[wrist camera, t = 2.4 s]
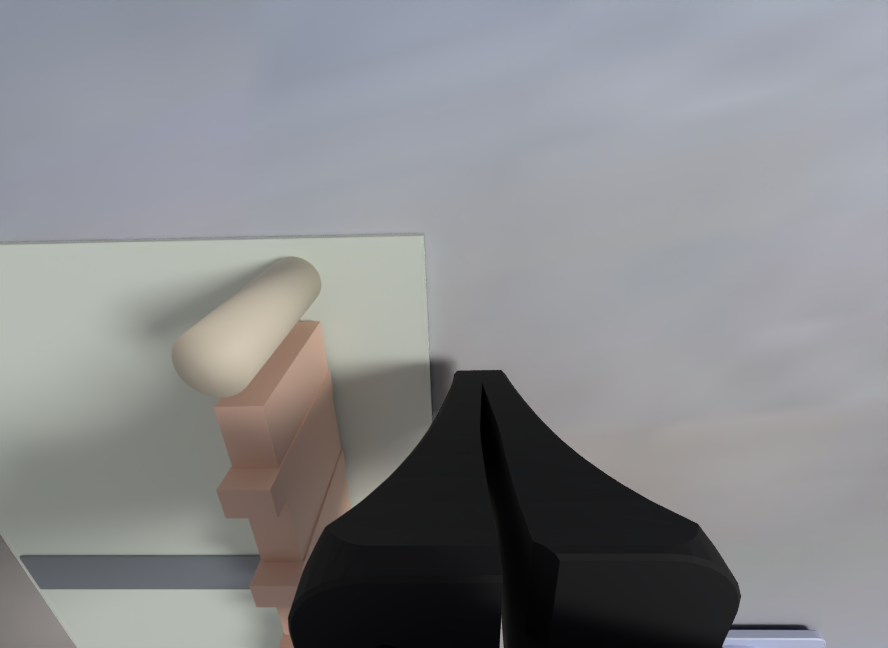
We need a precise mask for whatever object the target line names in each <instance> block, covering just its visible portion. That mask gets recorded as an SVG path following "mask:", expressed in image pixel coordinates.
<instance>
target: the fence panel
mask: <svg viewBox="0 0 888 648" xmlns="http://www.w3.org/2000/svg"><path fill="white" fill-rule="evenodd" d="M320 291H321V278H320V275H319V273H318V271H317V270H316V269H315V267H314V266H313V265H312V264H311V263H309V262H308V261H306V260H304V259H302V258H299V257H292V256H290V257H284V258H282V259H280V260H278V261H277V262H275V263H274V264H273V265H272V266H270V267H269V268H268V269H266V270H265V271H264V272H262V273H261V274H260V275H259V276H257V277H256V278H255V279H253V280H252V281H251V282H250V283H248V284H247V285H246V286H244V287H243V288H242V289H241V290H239V291H238V292H237V293H235V294H234V295H233V296H231V297H230V298H229V299H228V300H226V301H225V302H224V303H222V304H221V305H220V306H219V307H217V308H216V309H215V310H213V311H212V312H211V313H209V314H208V315H207V316H206V317H204V318H203V319H202V320H200V321H199V322H198V323H197V324H195V325H194V326H193V327H191V328H190V329H189V330H188V331H186V332H185V333H184V334H182V335H181V336H180V337H179V338H178V339H177V340H176V342H175V343H174V345H173V348H172V362H173V365H174V368H175V370H176V372H177V373H178V375H179V376H180V378H181V379H182V380H183V381H184V382H185V383H186V384H187V385H189V386H190V387H191V388H193V389H194V390H196V391H198V392H200V393H202V394H205V395H209V396H213V397H221V398H220V400H219V401H218V402H217V403H216V404H215V406H214V411H215V414H216V417H217V420H218V423H219V427H220V430H221V433H222V436H223V439H224V442H225V446H226V449H227V452H228V455H229V458H230V462H231V465H232V466H231V468H230V470H229V471H228V473H227V474H226V476H225V477H224V479H223V480H222V482H221V483H220V485H219V487H218V488H217V490H216V491H217V494H218V497H219V500H220V503H221V506H222V509H223V512H224V515H225V517H226V518H248V519H249V522H250V526H251V529H252V532H253V535H254V538H255V542H256V545H257V548H258V551H259V554H260V557H261V560H260V562H259V565H258V567H257V569H256V572H255V574H254V576H253V578H252V581H251V583H250V585H249V587H250V590H251V593H252V596H253V599H254V602H255V604H256V607H276V609H277V612H278V615H279V618H280V621H281V625H282V628H283V631H284V633H283V636H282V639H281V642H280V645H279V648H294V647H293V644H292V640H291V637H290V634H289V627H288V615H289V612H290V609H291V606H292V603H293V600H294V597H295V594H296V590H297V587H298V584H299V581H300V578H301V575H302V573H303V570H304V568H305V566H306V563H307V561H308V559H309V557H310V555H311V553H312V551H313V549H314V547H315V545H316V543H317V541H318V539H319V537H320V535H321V533H322V532H323V530H324V528H325V527H326V526H327V525H328V524H330V523H331V522H333V521H335V520H336V519H337V518H339V517H340V516H342V515H343V514H344V513H346V512H347V511H349V510H350V509H351V504H350V498H349V492H348V486H347V480H346V474H345V468H346V465H345V458H344V452H343V448H341V443H340V437H339V431H338V425H337V419H336V413H335V407H334V401H333V393H334V391H333V385H332V379H331V373H330V370H328V364H327V358H326V352H325V346H324V340H323V334H322V328H321V322H320V321H314V322H298V321H299V320H300V318H301V317H302V316H303V315H304V313H305V312H306V311H307V310H308V308H309V307H310V306H311V304H312V303H313V302H314V301H315V299H316V298H317V297H318V295H319V293H320Z"/></svg>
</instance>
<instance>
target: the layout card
mask: <svg viewBox="0 0 888 648" xmlns="http://www.w3.org/2000/svg"><path fill="white" fill-rule="evenodd" d="M290 256H292V257H299V258H302V259H304V260H306V261H308V262H309V263H311V264H312V265H313V266H314V267H315V269H316V270H317V271H318V273H319V275H320V278H321V291H320V293H319V295H318V297H317V298H316V299H315V301H314V302H313V303H312V304H311V306H310V307H309V308H308V310H307V311H306V312H305V313H304V315H303V316H302V317H301V318H300V320H299V321H298V322H314V321H320V322H321V328H322V334H323V340H324V346H325V352H326V358H327V364H328V370H330V373H331V379H332V385H333V391H334V393H333V401H334V407H335V413H336V419H337V425H338V431H339V437H340V443H341V448H343V452H344V458H345V465H346V468H345V474H346V480H347V486H348V492H349V498H350V504H351V508H353V507H354V506H356V505H357V504H358V503H360V502H361V501H362V500H363V499H364V498H366V497H367V496H368V495H369V494H370V493H371V492H372V491H373V490H375V489H376V488H377V487H378V486H379V485H380V484H381V483H382V482H384V481H385V480H386V479H387V478H388V477H389V476H390V475H391V474H392V473H393V472H394V471H395V470H396V469H397V468H398V467H399V466H400V464H401V463H402V462H403V461H404V460H405V459H406V458H407V457H408V456H409V454H410V453H411V452H412V451H413V449H414V448H415V447H416V446H417V444H418V443H419V442H420V440H421V439H422V438H423V436H424V435H425V433H426V432H427V430H428V429H429V427H430V426H431V424H432V402H431V380H430V359H429V337H428V315H427V293H426V272H425V250H424V233H414V234H368V235H321V236H275V237H229V238H183V239H137V240H91V241H45V242H0V535H1V537H2V538H3V540H4V541H5V542H6V544H7V545H8V547H9V548H10V550H11V551H12V553H13V554H14V556H15V557H16V559H17V560H18V562H19V563H20V565H21V566H22V567H23V569H24V570H25V572H26V573H27V575H28V576H29V578H30V579H31V581H32V582H33V584H34V585H35V587H36V588H37V590H38V591H39V592H40V594H41V595H42V597H43V598H44V600H45V601H46V603H47V604H48V606H49V607H50V609H51V610H52V612H53V613H54V615H55V616H56V617H57V619H58V620H59V622H60V623H61V625H62V626H63V628H64V629H65V631H66V632H67V634H68V635H69V637H70V638H71V640H72V641H73V642H74V644H75V645H76V647H77V648H279V645H280V642H281V639H282V636H283V633H284V631H283V628H282V625H281V621H280V618H279V615H278V612H277V609H276V607H256V604H255V602H254V599H253V596H252V593H251V590H250V587H249V585H250V583H251V581H252V578H253V576H254V574H255V572H256V569H257V567H258V565H259V562H260V560H261V557H260V554H259V551H258V548H257V545H256V542H255V538H254V535H253V532H252V529H251V526H250V522H249V519H248V518H226V517H225V515H224V512H223V509H222V506H221V503H220V500H219V497H218V494H217V491H216V490H217V488H218V487H219V485H220V483H221V482H222V480H223V479H224V477H225V476H226V474H227V473H228V471H229V470H230V468H231V466H232V465H231V462H230V458H229V455H228V452H227V449H226V446H225V442H224V439H223V436H222V433H221V430H220V427H219V423H218V420H217V417H216V414H215V411H214V406H215V404H216V403H217V402H218V401H219V400H220V398H221V397H213V396H209V395H205V394H202V393H200V392H198V391H196V390H194V389H193V388H191V387H190V386H189V385H187V384H186V383H185V382H184V381H183V380H182V379H181V378H180V376H179V375H178V373H177V372H176V370H175V368H174V365H173V362H172V348H173V345H174V343H175V342H176V340H177V339H178V338H179V337H180V336H181V335H182V334H184V333H185V332H186V331H188V330H189V329H190V328H191V327H193V326H194V325H195V324H197V323H198V322H199V321H200V320H202V319H203V318H204V317H206V316H207V315H208V314H209V313H211V312H212V311H213V310H215V309H216V308H217V307H219V306H220V305H221V304H222V303H224V302H225V301H226V300H228V299H229V298H230V297H231V296H233V295H234V294H235V293H237V292H238V291H239V290H241V289H242V288H243V287H244V286H246V285H247V284H248V283H250V282H251V281H252V280H253V279H255V278H256V277H257V276H259V275H260V274H261V273H262V272H264V271H265V270H266V269H268V268H269V267H270V266H272V265H273V264H274V263H275V262H277V261H278V260H280V259H282V258H284V257H290Z"/></svg>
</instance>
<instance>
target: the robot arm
mask: <svg viewBox="0 0 888 648" xmlns="http://www.w3.org/2000/svg"><path fill="white" fill-rule="evenodd" d="M740 599H741V594H740V590H739V586H738V582H737V581H736V579H735V578H734V576H733V574H732V573H731V571H730V570H729V568H728V566H727V565H726V563H725V561H724V560H723V558H722V557H721V555H720V554H719V552H718V551H717V549H716V548H715V546H714V545H713V544H712V542H711V541H710V540H709V538H708V537H707V536H706V534H705V533H704V532H703V530H702V529H701V527H700V526H699V525H698V524H697V523H695V522H693V521H691V520H689V519H687V518H685V517H683V516H681V515H679V514H677V513H675V512H672V511H670V510H668V509H666V508H664V507H662V506H660V505H658V504H656V503H654V502H652V501H650V500H649V499H647V498H645V497H643V496H642V495H640V494H638V493H636V492H635V491H633V490H631V489H629V488H628V487H626V486H624V485H623V484H621V483H619V482H618V481H616V480H615V479H613V478H611V477H610V476H608V475H607V474H605V473H604V472H603V471H601V470H600V469H598V468H597V467H595V466H594V465H593V464H591V463H590V462H588V461H587V460H586V459H584V458H583V457H582V456H580V455H579V454H578V453H576V452H575V451H574V450H573V449H572V448H571V447H569V446H568V445H567V444H566V443H565V442H563V441H562V440H561V439H560V438H559V437H558V436H557V435H556V434H555V433H554V432H553V431H552V430H551V429H550V428H549V427H548V426H547V425H546V424H545V423H544V422H543V421H542V420H541V419H540V418H539V417H538V416H537V415H536V414H535V412H534V411H533V410H532V409H531V408H530V407H529V405H528V404H527V403H526V402H525V401H524V399H523V398H522V397H521V396H520V394H519V393H518V392H517V390H516V389H515V388H514V386H513V385H512V384H511V382H510V381H509V379H508V378H507V376H506V375H505V373H504V372H503V371H502V370H471V371H457V372H456V373H455V374H454V378H453V382H452V385H451V388H450V390H449V392H448V395H447V397H446V399H445V401H444V403H443V405H442V407H441V409H440V411H439V413H438V414H437V416H436V418H435V419H434V421H433V422H432V424H431V426H430V427H429V429H428V430H427V432H426V433H425V435H424V436H423V438H422V439H421V440H420V442H419V443H418V444H417V446H416V447H415V448H414V449H413V451H412V452H411V453H410V454H409V456H408V457H407V458H406V459H405V460H404V461H403V462H402V463H401V464H400V466H399V467H398V468H397V469H396V470H395V471H394V472H393V473H392V474H391V475H390V476H389V477H388V478H387V479H386V480H385V481H384V482H382V483H381V484H380V485H379V486H378V487H377V488H376V489H375V490H373V491H372V492H371V493H370V494H369V495H368V496H367V497H366V498H364V499H363V500H362V501H361V502H360V503H358V504H357V505H356V506H354V507H353V508H351V509H350V510H349V511H347V512H346V513H344V514H343V515H342V516H340V517H339V518H337V519H336V520H335V521H333V522H331V523H330V524H328V525H327V526H326V527H325V528H324V530H323V532H322V533H321V535H320V537H319V539H318V541H317V543H316V545H315V547H314V549H313V551H312V553H311V555H310V557H309V559H308V561H307V563H306V566H305V568H304V570H303V573H302V575H301V578H300V581H299V584H298V587H297V590H296V594H295V597H294V600H293V603H292V606H291V609H290V612H289V615H288V627H289V634H290V637H291V640H292V644H293V647H294V648H499V647H500V629H501V618H502V630H503V644H504V648H824V647H825V644H826V642H825V640H824V639H823V637H822V636H821V634H820V633H819V632H817V631H815V630H730V627H731V625H732V623H733V621H734V618H735V616H736V614H737V611H738V608H739V603H740Z"/></svg>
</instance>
